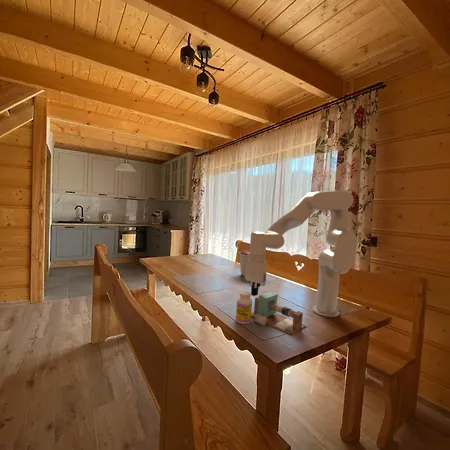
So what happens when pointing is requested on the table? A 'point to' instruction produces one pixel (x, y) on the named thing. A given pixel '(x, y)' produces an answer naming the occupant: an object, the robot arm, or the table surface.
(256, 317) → the sleeve
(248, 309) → the supplement bottle
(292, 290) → the table surface
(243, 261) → the canister
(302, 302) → the table surface
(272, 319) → the pipe rig
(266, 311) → the collar
